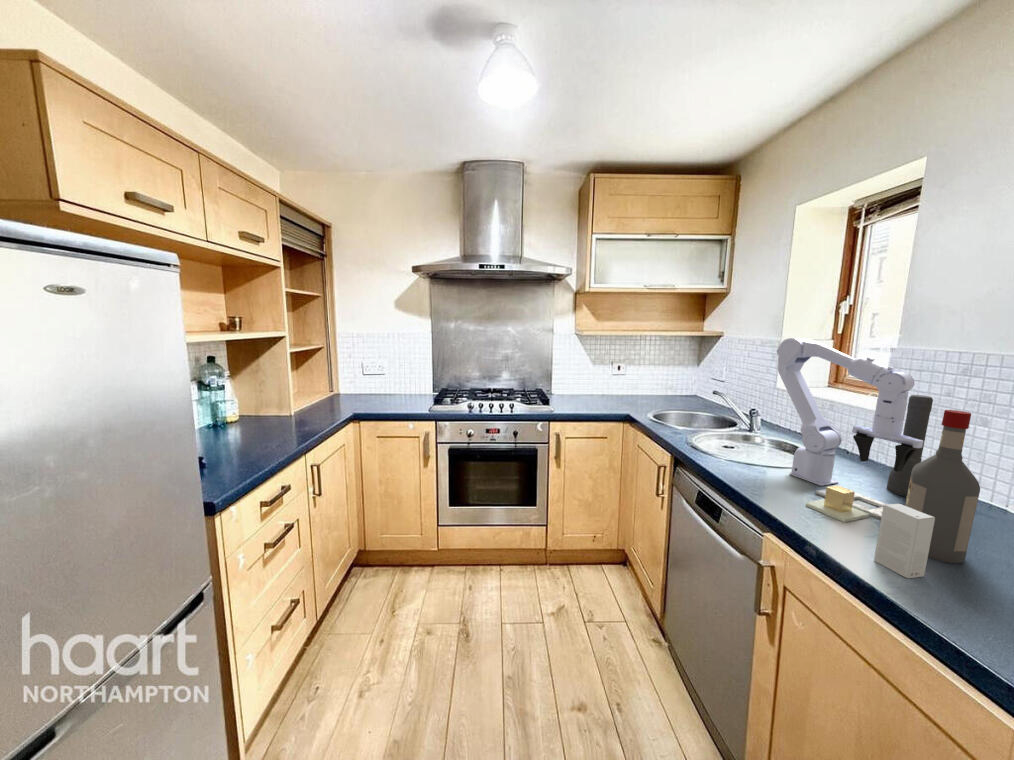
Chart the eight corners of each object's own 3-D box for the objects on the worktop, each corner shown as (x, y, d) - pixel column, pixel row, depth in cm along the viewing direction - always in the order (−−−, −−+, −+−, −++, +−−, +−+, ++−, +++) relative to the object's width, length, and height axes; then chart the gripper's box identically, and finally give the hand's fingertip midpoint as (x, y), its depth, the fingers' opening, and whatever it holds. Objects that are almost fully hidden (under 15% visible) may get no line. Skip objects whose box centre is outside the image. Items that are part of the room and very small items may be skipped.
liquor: (957, 549, 86) (987, 412, 81) (965, 568, 79) (998, 419, 74) (898, 533, 92) (923, 404, 87) (900, 550, 85) (927, 411, 80)
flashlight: (882, 485, 120) (892, 494, 114) (899, 392, 116) (910, 396, 109) (914, 490, 117) (925, 499, 111) (932, 395, 113) (945, 399, 106)
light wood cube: (823, 505, 103) (826, 487, 102) (834, 503, 105) (837, 485, 104) (841, 512, 99) (844, 493, 99) (851, 510, 101) (854, 491, 100)
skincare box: (925, 577, 76) (937, 517, 74) (907, 579, 75) (919, 519, 73) (888, 558, 82) (899, 502, 80) (872, 560, 81) (882, 504, 79)
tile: (805, 505, 105) (806, 502, 105) (829, 501, 108) (829, 498, 108) (844, 522, 96) (844, 519, 96) (868, 517, 99) (868, 514, 99)
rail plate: (815, 493, 112) (815, 490, 112) (838, 489, 116) (839, 486, 116) (894, 525, 96) (895, 521, 96) (919, 519, 99) (920, 516, 99)
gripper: (848, 411, 112) (840, 458, 114) (914, 424, 99) (904, 477, 101) (864, 410, 115) (856, 455, 117) (931, 422, 101) (921, 474, 103)
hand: (880, 465), depth 109 cm, fingers open, 7 cm apart
